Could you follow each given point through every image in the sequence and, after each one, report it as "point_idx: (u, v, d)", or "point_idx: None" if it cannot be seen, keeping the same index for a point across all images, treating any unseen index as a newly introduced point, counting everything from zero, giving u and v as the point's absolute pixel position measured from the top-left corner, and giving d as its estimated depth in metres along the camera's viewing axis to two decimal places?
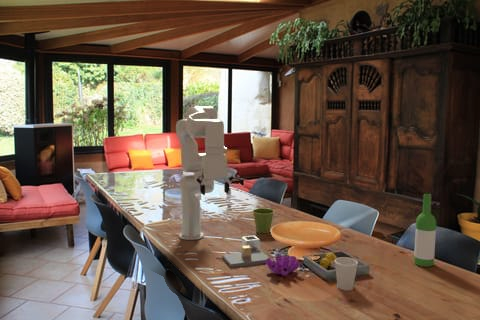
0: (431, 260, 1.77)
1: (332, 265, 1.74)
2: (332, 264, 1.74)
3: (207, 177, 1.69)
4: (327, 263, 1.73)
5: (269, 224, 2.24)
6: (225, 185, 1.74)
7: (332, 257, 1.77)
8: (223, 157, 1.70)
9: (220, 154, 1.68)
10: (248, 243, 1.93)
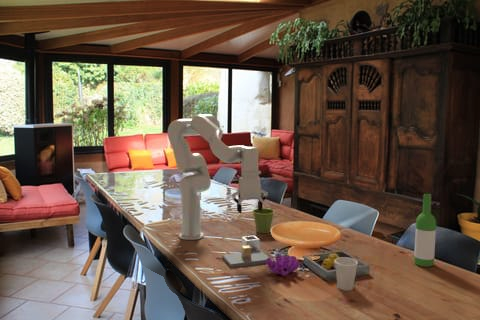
0: (431, 260, 1.77)
1: (335, 266, 1.73)
2: None
3: (243, 197, 1.91)
4: (330, 264, 1.73)
5: (269, 224, 2.24)
6: (259, 204, 1.96)
7: (335, 258, 1.76)
8: (257, 179, 1.92)
9: (255, 177, 1.90)
10: (248, 243, 1.93)
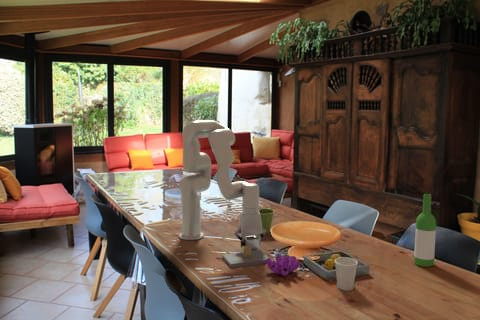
0: (431, 260, 1.77)
1: None
2: None
3: (244, 233, 1.93)
4: (332, 264, 1.72)
5: (269, 224, 2.24)
6: None
7: None
8: (258, 216, 1.94)
9: (256, 214, 1.93)
10: (248, 243, 1.93)
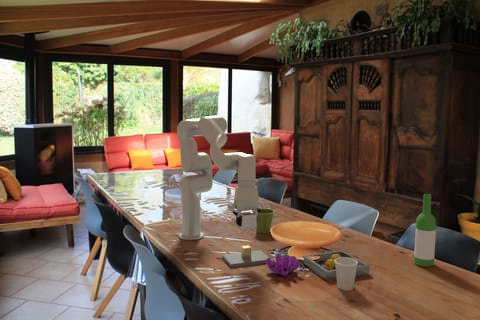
0: (431, 260, 1.77)
1: None
2: None
3: (240, 208, 1.80)
4: (332, 264, 1.72)
5: (269, 224, 2.24)
6: None
7: None
8: (255, 189, 1.81)
9: (252, 187, 1.79)
10: (244, 218, 1.80)
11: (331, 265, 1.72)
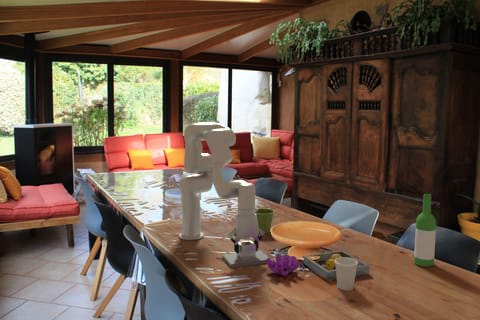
0: (431, 260, 1.77)
1: None
2: None
3: (240, 236, 1.81)
4: (333, 264, 1.72)
5: (269, 224, 2.24)
6: (254, 243, 1.86)
7: None
8: (254, 217, 1.82)
9: (252, 215, 1.80)
10: (244, 249, 1.81)
11: (332, 265, 1.72)
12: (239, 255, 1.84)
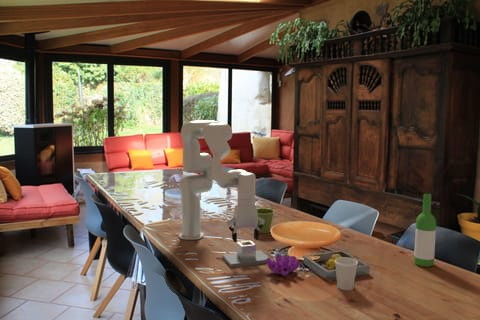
0: (431, 260, 1.77)
1: None
2: None
3: (239, 226, 1.81)
4: (333, 264, 1.72)
5: (269, 224, 2.24)
6: (255, 232, 1.86)
7: None
8: (254, 207, 1.81)
9: (252, 205, 1.80)
10: (244, 249, 1.81)
11: (332, 265, 1.72)
12: (239, 255, 1.84)
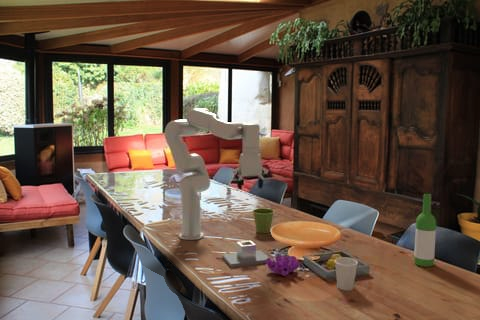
0: (431, 260, 1.77)
1: None
2: None
3: (244, 174, 1.91)
4: (334, 264, 1.72)
5: (269, 224, 2.24)
6: (259, 181, 1.96)
7: None
8: (258, 156, 1.92)
9: (256, 153, 1.90)
10: (244, 249, 1.81)
11: (333, 265, 1.72)
12: (239, 255, 1.84)
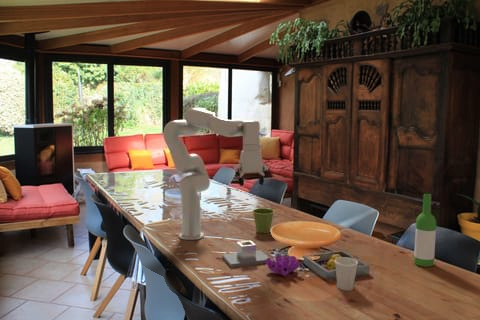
0: (431, 260, 1.77)
1: None
2: None
3: (245, 170, 1.92)
4: (334, 265, 1.72)
5: (269, 224, 2.24)
6: (260, 178, 1.97)
7: None
8: (259, 153, 1.93)
9: (256, 150, 1.91)
10: (244, 249, 1.81)
11: (333, 265, 1.72)
12: (239, 255, 1.84)
